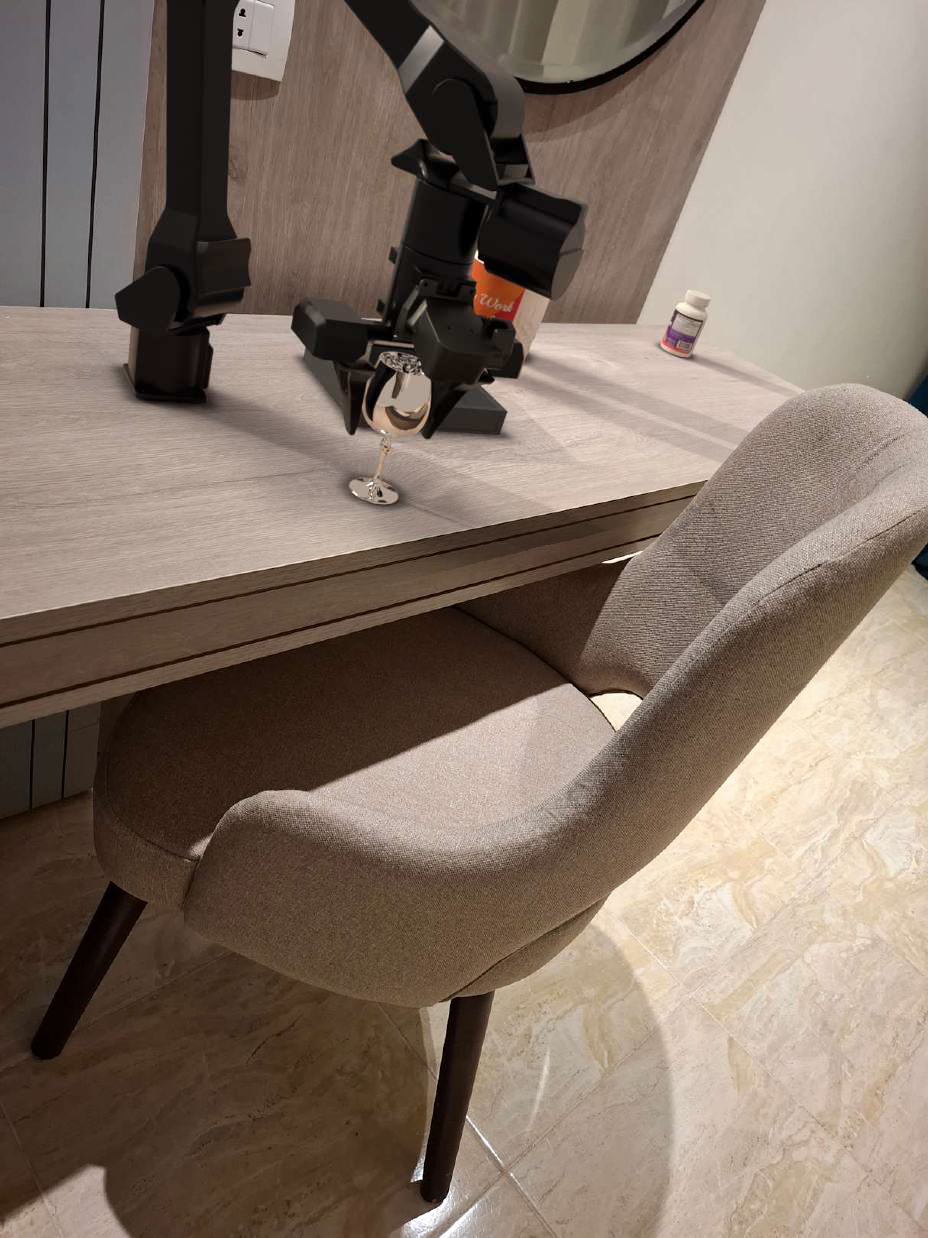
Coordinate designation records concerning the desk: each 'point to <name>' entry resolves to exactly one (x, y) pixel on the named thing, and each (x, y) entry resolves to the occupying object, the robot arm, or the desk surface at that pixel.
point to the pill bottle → (686, 324)
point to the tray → (467, 415)
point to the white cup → (529, 318)
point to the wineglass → (393, 414)
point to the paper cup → (495, 294)
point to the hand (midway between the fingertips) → (388, 435)
